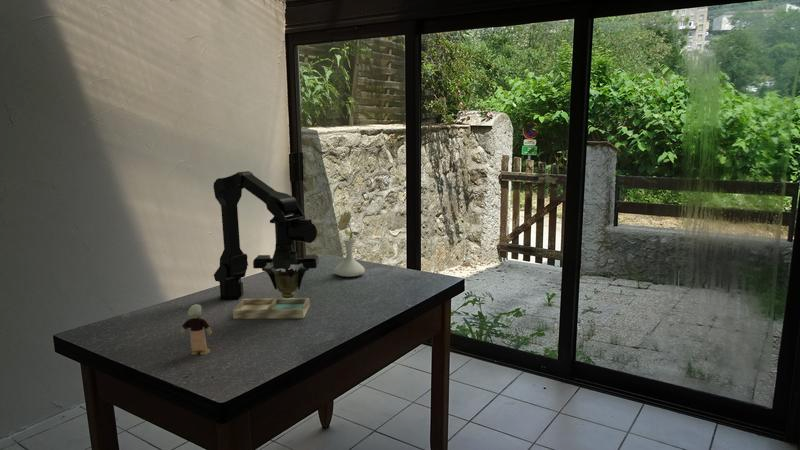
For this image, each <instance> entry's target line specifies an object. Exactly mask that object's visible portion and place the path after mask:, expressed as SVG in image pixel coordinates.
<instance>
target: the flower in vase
mask: <svg viewBox="0 0 800 450" xmlns="http://www.w3.org/2000/svg"><path fill="white" fill-rule="evenodd" d="M351 214H352V213H351V211H350V210H348V211H347V210H346V211H344V212H343V214H341V215H340V218H339V220H338V221H337V229H338V231H339V232H340V231H343V230H344V234H345V235H347V236H349V237H345V238H342V242H343V243H344V245H345V252H346V253H345V255H346V256H345V258H344V260H343V261H341V263H339V264H337V266H336V267H335V269H334V273H335V274H336V275H338V276H341V277H345V278H346V277H347V278H348V277H349V278H350V277H357V276H360V275H362V274H364V273H365V270H366V269H365V267H364V266H363V264H360V263H359V262H358V261H357V260H355V258H354V257H353V247H354V244H355V241H356V238H355V237H353V234H354V232H353V231H352V228H351V226H350V224H349V223H350V222H351V218H352V215H351ZM347 227H348V228H349V229H350V230H348V229H347Z"/></svg>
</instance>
